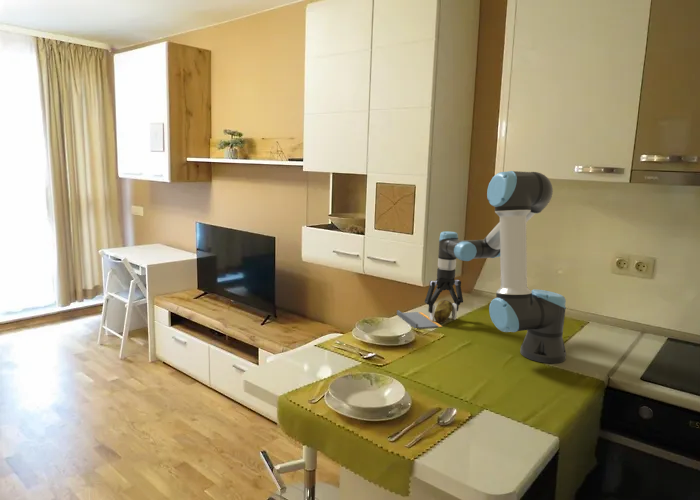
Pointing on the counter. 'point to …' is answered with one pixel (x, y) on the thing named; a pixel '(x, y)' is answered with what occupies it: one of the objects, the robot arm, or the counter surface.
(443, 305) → the potato
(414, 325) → the mat
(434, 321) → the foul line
